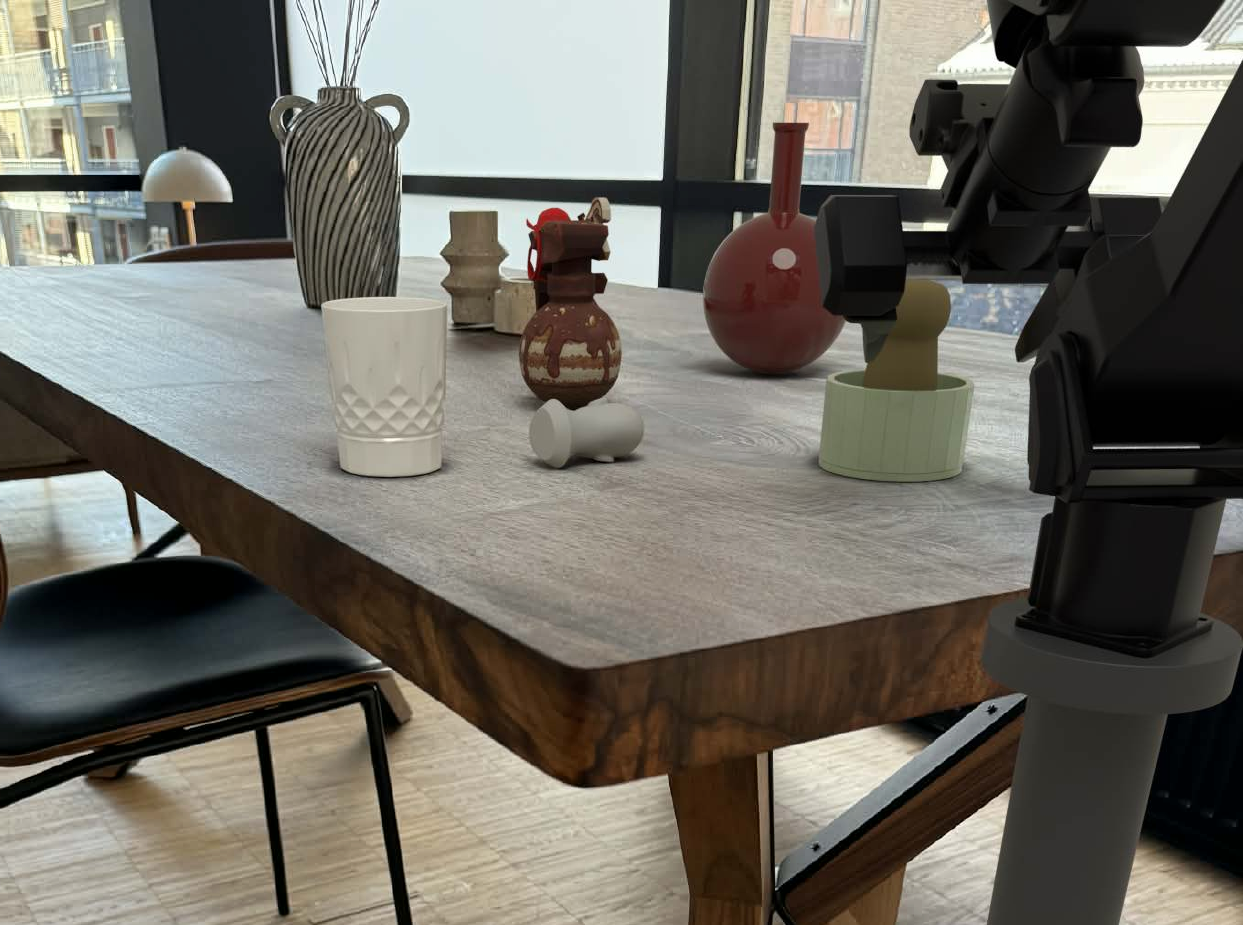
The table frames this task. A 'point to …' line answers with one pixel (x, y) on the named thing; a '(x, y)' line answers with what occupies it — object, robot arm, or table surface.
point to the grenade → (569, 310)
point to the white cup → (387, 382)
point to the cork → (912, 340)
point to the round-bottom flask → (771, 277)
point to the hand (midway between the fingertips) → (943, 356)
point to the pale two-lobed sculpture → (585, 431)
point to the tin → (894, 429)
